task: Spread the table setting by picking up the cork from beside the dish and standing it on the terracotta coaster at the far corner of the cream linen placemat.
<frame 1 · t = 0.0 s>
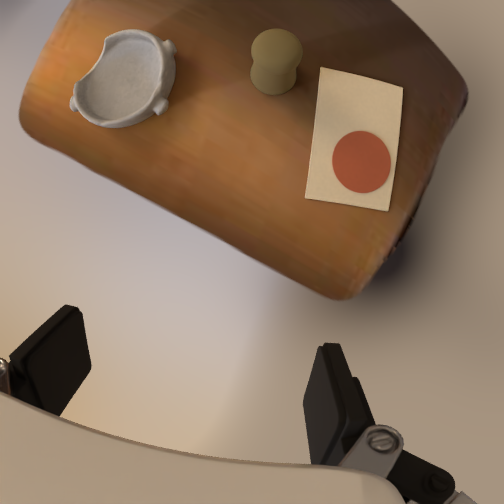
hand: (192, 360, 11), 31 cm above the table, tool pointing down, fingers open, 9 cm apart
dish: (133, 83, 36), on the table
cork: (273, 74, 35), on the table
placemat: (357, 138, 37), on the table
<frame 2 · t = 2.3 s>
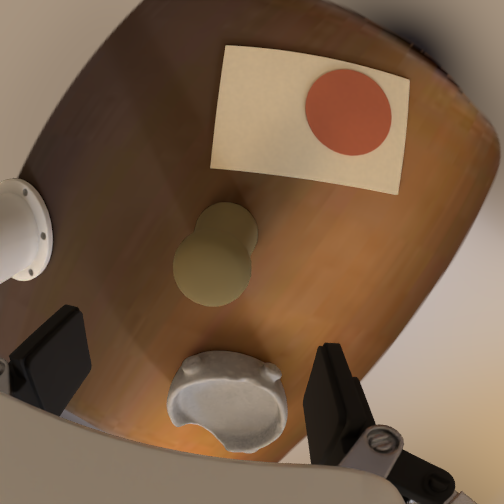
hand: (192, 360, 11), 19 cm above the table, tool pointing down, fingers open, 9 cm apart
dish: (230, 388, 35), on the table
cork: (226, 233, 29), on the table
placemat: (316, 116, 26), on the table
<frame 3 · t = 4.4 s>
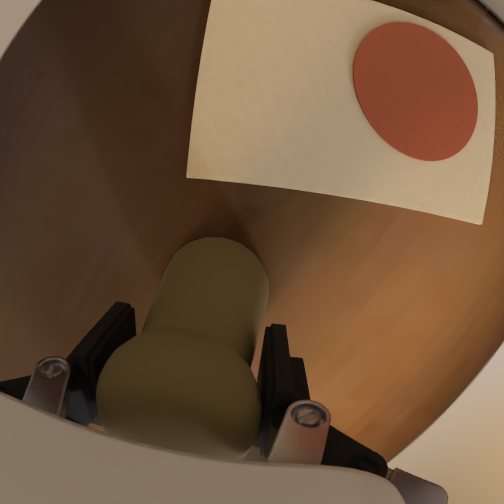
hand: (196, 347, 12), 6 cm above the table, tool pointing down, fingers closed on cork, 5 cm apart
cork: (216, 287, 18), on the table, touching gripper
placemat: (370, 91, 14), on the table
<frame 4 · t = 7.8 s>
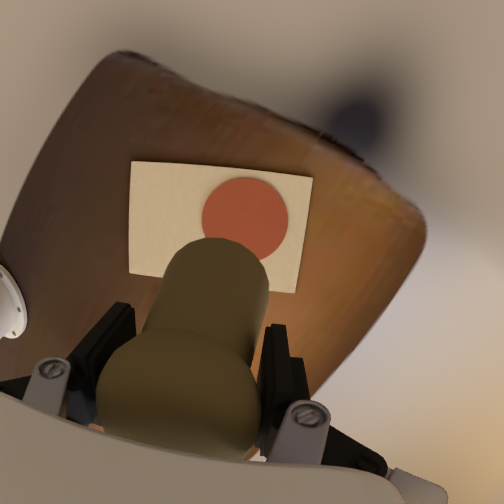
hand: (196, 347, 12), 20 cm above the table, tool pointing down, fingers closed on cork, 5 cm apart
cork: (216, 287, 18), point 14 cm above the table, touching gripper
placemat: (213, 226, 31), on the table
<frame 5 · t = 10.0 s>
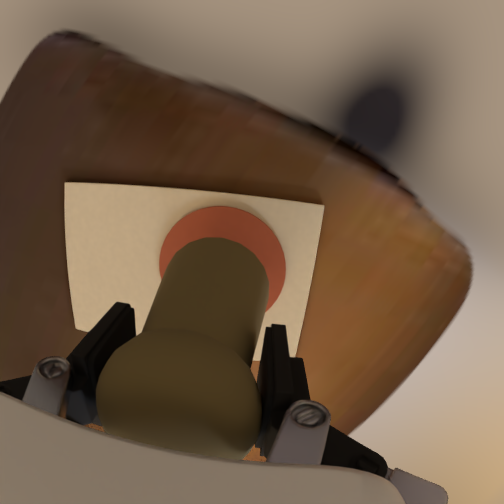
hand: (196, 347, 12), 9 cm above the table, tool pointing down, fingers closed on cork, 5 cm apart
cork: (216, 287, 18), point 3 cm above the table, touching gripper
placemat: (177, 276, 21), on the table
when the fingers open (6 cm above the table, at t = 11.3 s): cork stays where it is, resting on placemat.
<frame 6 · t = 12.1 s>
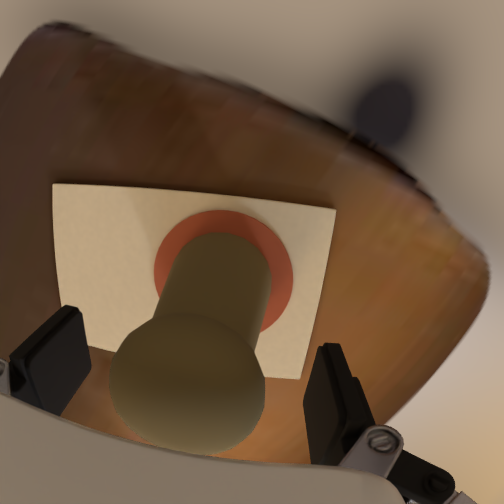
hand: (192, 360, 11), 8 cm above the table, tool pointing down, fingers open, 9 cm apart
cork: (220, 280, 18), resting on placemat
placemat: (174, 286, 19), on the table
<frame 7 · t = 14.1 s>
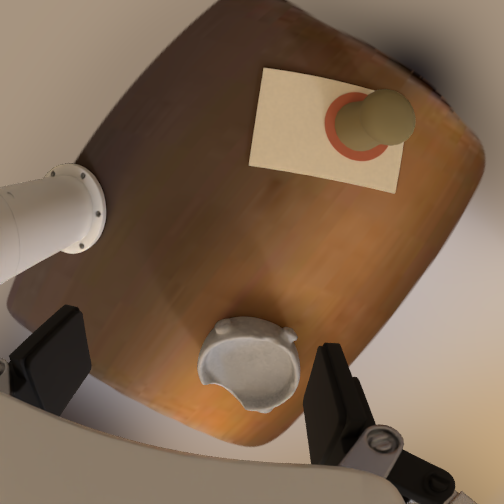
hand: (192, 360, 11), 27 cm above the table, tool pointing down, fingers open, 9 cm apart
dish: (251, 352, 42), on the table
cork: (358, 126, 32), resting on placemat
placemat: (333, 128, 33), on the table
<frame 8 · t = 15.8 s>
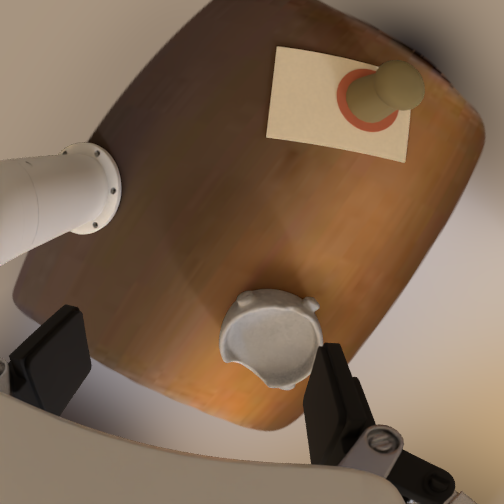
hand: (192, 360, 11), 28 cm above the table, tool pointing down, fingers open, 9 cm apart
dish: (272, 327, 43), on the table
cork: (368, 100, 33), resting on placemat
placemat: (344, 102, 33), on the table
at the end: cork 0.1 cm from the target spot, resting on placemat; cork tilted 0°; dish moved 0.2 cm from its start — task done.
